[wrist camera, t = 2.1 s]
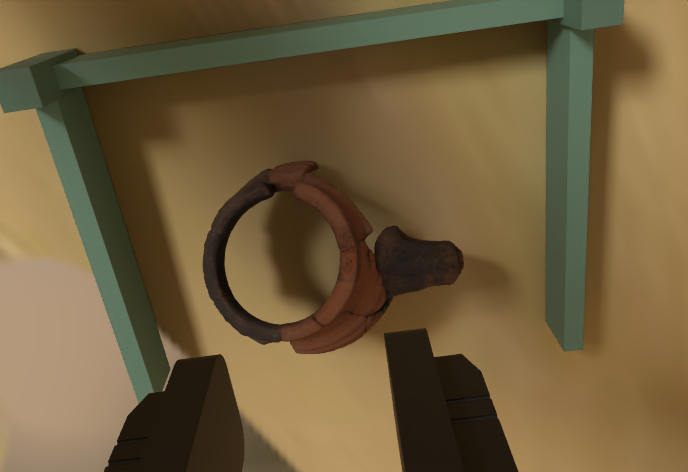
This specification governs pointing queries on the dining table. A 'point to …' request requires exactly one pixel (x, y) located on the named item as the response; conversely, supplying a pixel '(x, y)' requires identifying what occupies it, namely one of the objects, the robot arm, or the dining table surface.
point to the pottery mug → (354, 273)
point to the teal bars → (292, 40)
